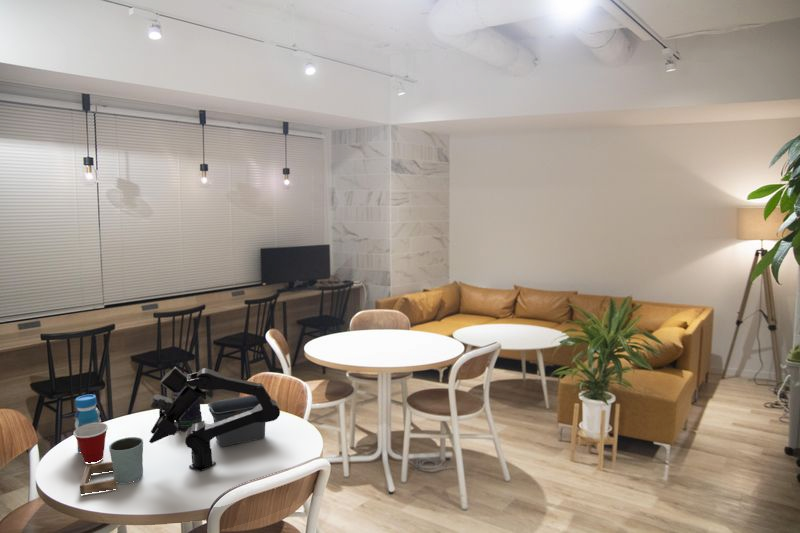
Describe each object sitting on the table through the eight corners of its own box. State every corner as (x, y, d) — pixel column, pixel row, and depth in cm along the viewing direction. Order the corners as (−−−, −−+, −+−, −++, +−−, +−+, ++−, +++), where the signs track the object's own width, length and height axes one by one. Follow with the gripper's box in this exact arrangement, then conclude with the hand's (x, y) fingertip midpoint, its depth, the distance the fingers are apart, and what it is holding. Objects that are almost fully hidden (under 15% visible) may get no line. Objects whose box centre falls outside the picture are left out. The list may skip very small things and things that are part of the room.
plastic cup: (72, 470, 202) (69, 436, 200) (80, 457, 212) (77, 424, 210) (107, 465, 205) (104, 432, 203) (113, 452, 215) (110, 420, 213)
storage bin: (264, 427, 235) (262, 392, 234) (275, 441, 222) (273, 404, 220) (208, 438, 225) (206, 402, 224) (217, 454, 212) (214, 415, 210)
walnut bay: (121, 469, 201) (120, 460, 201) (116, 490, 187) (115, 480, 187) (87, 475, 198) (86, 465, 197) (80, 496, 184) (79, 486, 183)
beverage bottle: (90, 456, 212) (85, 402, 210) (71, 453, 215) (66, 400, 213) (108, 446, 220) (104, 394, 218) (90, 443, 223) (86, 392, 220)
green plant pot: (136, 468, 202) (133, 434, 201) (151, 476, 196) (148, 442, 194) (106, 479, 195) (103, 444, 193) (121, 488, 188) (118, 452, 187)
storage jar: (175, 425, 240) (172, 389, 238) (200, 420, 244) (198, 385, 242) (177, 433, 231) (174, 396, 229) (203, 429, 235) (201, 392, 233)
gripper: (166, 378, 205) (133, 413, 203) (163, 395, 187) (128, 434, 185) (191, 397, 208) (159, 432, 206) (191, 416, 191) (157, 454, 189)
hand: (151, 437), depth 196 cm, fingers open, 8 cm apart
